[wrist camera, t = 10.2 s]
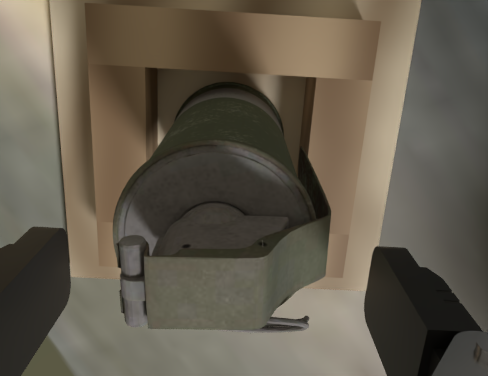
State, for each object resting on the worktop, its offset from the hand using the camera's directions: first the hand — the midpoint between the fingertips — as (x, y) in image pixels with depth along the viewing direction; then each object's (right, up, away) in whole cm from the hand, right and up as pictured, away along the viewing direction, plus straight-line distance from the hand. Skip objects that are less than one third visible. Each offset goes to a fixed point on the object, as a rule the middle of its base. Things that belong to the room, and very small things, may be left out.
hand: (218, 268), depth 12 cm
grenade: (0, +5, +13) cm, 14 cm away
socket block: (0, +5, +14) cm, 14 cm away
